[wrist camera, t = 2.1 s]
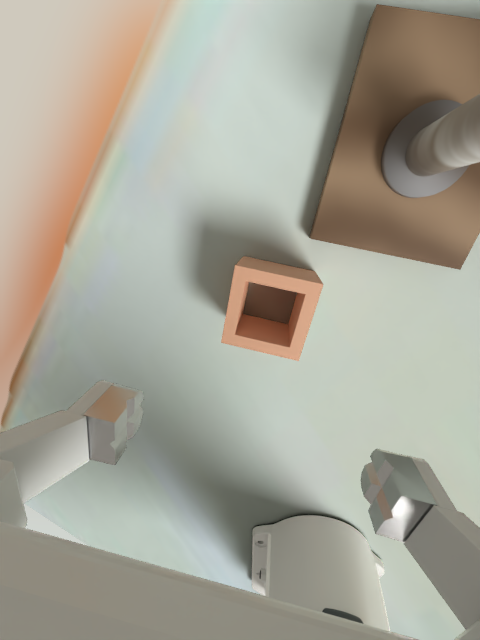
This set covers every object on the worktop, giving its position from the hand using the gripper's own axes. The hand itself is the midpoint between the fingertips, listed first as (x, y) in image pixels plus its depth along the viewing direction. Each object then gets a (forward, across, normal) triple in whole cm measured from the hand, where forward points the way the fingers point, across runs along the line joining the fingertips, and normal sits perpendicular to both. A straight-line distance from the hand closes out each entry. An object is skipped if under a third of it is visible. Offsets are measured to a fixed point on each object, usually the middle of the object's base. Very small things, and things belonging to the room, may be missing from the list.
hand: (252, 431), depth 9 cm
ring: (+17, 0, 0) cm, 17 cm away
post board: (+17, -8, -13) cm, 23 cm away
